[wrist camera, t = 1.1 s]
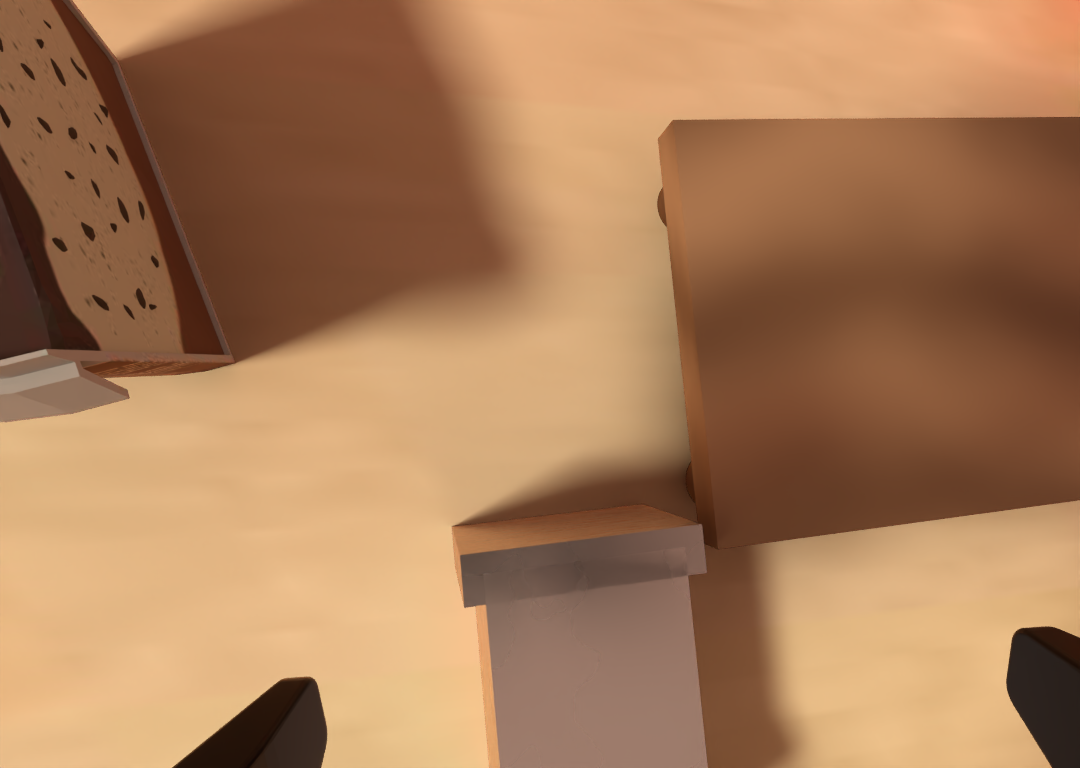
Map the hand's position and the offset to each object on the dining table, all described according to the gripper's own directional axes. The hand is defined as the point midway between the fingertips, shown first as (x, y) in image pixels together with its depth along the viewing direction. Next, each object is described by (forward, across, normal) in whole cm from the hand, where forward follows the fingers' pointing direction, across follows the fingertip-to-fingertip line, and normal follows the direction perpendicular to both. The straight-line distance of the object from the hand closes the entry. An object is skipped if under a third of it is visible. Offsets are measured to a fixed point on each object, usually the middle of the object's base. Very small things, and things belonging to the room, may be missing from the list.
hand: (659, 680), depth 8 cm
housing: (+9, +2, +8) cm, 12 cm away
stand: (+15, -10, -1) cm, 18 cm away
